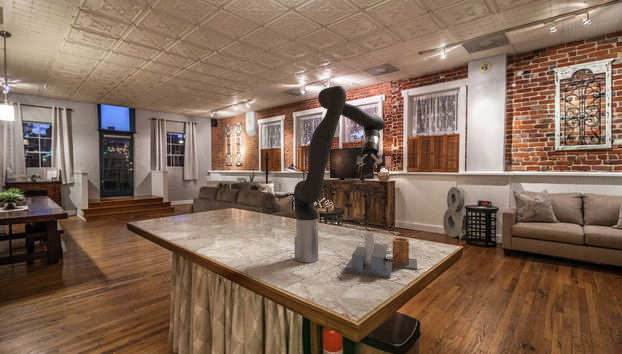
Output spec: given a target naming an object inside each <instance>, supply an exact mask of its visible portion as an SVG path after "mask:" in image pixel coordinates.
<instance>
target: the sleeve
mask: <svg viewBox="0 0 622 354" xmlns="http://www.w3.org/2000/svg"><path fill="white" fill-rule="evenodd" d="M392 257H393V263H394V264H404V265H409V258H410V238H408V237H407V238H406V237H394V236H393V239H392Z"/></svg>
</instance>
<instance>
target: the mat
mask: <svg viewBox="0 0 622 354" xmlns="http://www.w3.org/2000/svg"><path fill="white" fill-rule="evenodd" d="M386 258H390V262H393V256H387V255H386ZM386 262H387V261H386ZM393 268H395V269H396V268H397V269H403V270H405V269H406V270H415V271H418V259H417V258H410V257H409V265H404V264H394V263H393Z"/></svg>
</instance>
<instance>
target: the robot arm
mask: <svg viewBox="0 0 622 354" xmlns="http://www.w3.org/2000/svg"><path fill="white" fill-rule="evenodd" d="M317 98H318V103H319V105H320V106H321V107H322V108H324V109H325V110H326V112H325V115H324V117H323V118H322V120H321V121H320V123H319V124H318V125H317V127H316V128H315V129H314V131H313V133H312V136H311V139H310V142H309V146H308V161H309V165H308V166H309V167H308V170H307V174H306V178H305V180H300V181H298V182H297V183H296V185H295V186H294V189H293V205H294V207H293V208H294V212H295V216H296V217H295V218H296V219H295V220H296V221H295V222H296V224H295V225H296V229H295V230H296V233H295V234H296V236H294V238H293V239H294V241H293V243H294V260H296V261H298V262H300V263H314V262H318V260H319V212H318V211H317V209H316V208H315V207H316V206H315V203H316V202H317V201H318V200H319V199H320V198H321V196H322V191H323V185H324V184H323V183H324V179H325V172H326V170H327V165H328V161H329V158H330V153H331V150H332V147H333V142H334V138H335V135H336V131H337V129H338V128H337V127H338V124H339V120H340V118H341V116H343V117H345V118H346V119H348V120H350V121H352V122H354V123H355V124H357V125H358V126H360V127H363V131H364V141H363V144H362V150H361V154H359V155H358V154H357V153H355V154H354V155H353V158H352V163H351V164H352V167H353V168H355V173H357V174H360V169H361V168H360V167H363V166H364V165H372V164H374V165H375V166H376V174H379V173H381V169H382V167H383V168H384V167H386V153H382V154H379V152H380V148H381V145H380V144H381V143H380V141H381V140H380V138H381V134H380V131H382V130H384V129H385V126H386V123H385V120H384V119H383V117H381V116H379V115H376V114H373V113H369V112H367V111H366V110H364V109H363V108H361V107H359V106H357V105H353V104H350V103H347V102H346V101H347V91H346V90H345V88H344V87H343V86H342V85H334V86H329V87H326V88H323V89H321V90H320V91H319V93H318V97H317ZM379 159H380V160H381V161H380V160H379Z"/></svg>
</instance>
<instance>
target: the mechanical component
mask: <svg viewBox="0 0 622 354" xmlns="http://www.w3.org/2000/svg"><path fill="white" fill-rule="evenodd" d="M375 248H384V249H386V255H387V254H391V253H393V248H392V247H390V241H389V242H388V241H386V240H374V250H375Z"/></svg>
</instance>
